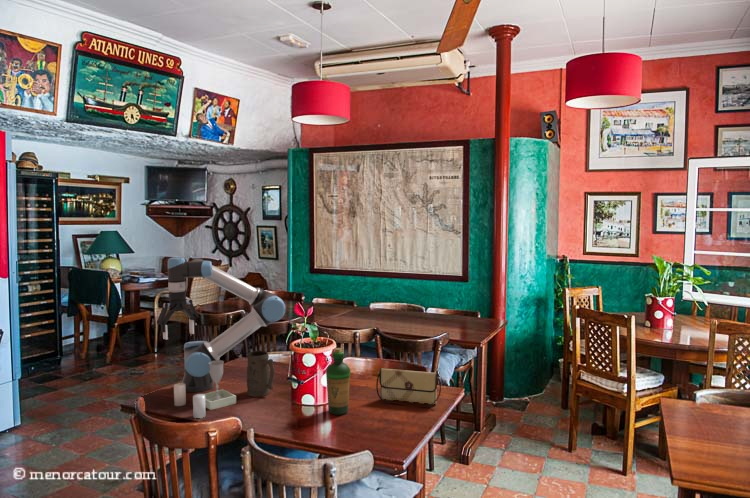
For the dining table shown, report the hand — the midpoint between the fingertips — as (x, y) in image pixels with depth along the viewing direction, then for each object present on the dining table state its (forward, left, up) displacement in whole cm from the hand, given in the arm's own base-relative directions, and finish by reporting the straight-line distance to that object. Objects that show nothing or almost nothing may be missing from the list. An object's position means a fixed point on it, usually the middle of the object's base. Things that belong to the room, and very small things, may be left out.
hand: (178, 336), depth 255 cm
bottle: (-44, +64, -30) cm, 83 cm away
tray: (-10, +18, -29) cm, 36 cm away
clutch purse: (-73, +77, -30) cm, 110 cm away
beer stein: (-32, +21, -30) cm, 48 cm away
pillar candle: (+3, +28, -29) cm, 40 cm away
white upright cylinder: (+3, +8, -29) cm, 30 cm away
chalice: (-10, +18, -29) cm, 35 cm away
